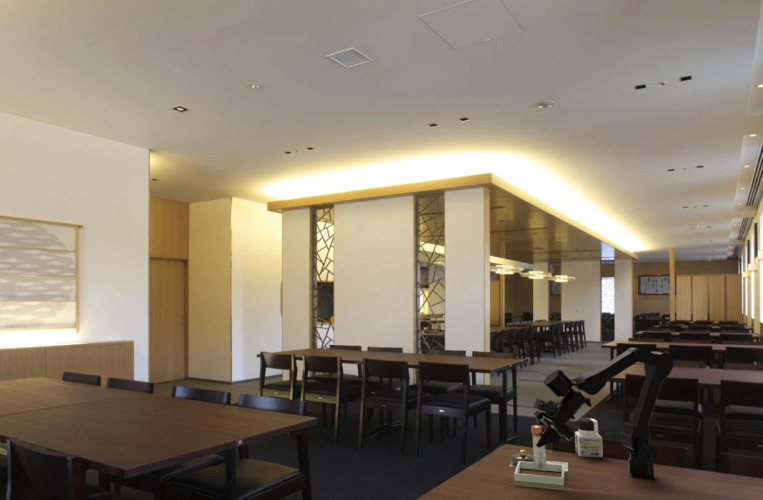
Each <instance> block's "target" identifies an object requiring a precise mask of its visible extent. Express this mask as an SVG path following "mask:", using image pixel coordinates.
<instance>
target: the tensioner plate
mask: <svg viewBox="0 0 763 500" xmlns="http://www.w3.org/2000/svg"><path fill="white" fill-rule="evenodd" d="M518 461H524V462H534V455H532V454H528V453H527V450H526V449H520V450H519V453H513V454H511V455H510V463H509V467H512V468H513V467H514V468H516V467H517V464H518ZM546 463H548V464H559V465H564V472H568V471H569V462H563V461H552V460H546Z"/></svg>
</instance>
